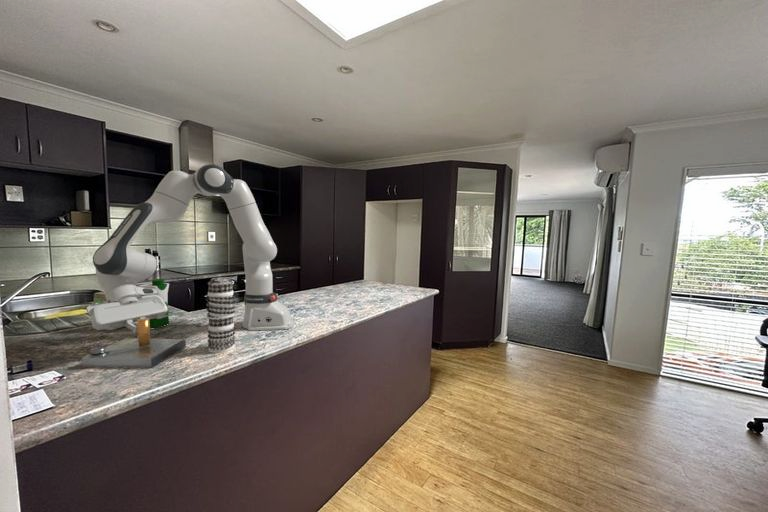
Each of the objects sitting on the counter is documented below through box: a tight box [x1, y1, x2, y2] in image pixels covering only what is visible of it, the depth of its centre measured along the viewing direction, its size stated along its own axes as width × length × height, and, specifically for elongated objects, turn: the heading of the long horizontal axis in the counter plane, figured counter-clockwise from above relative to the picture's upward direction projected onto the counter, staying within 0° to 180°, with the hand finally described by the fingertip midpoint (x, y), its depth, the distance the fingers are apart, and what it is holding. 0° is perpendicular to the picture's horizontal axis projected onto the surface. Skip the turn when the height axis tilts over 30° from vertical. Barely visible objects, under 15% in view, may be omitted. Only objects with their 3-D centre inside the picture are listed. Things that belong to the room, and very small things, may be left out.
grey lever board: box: [81, 338, 187, 369], centre depth 100 cm, size 21×16×3 cm
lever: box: [89, 318, 151, 355], centre depth 97 cm, size 14×4×8 cm, turn 131°
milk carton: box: [137, 278, 170, 330], centre depth 129 cm, size 9×9×20 cm
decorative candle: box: [205, 276, 236, 354], centre depth 108 cm, size 9×9×25 cm
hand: (140, 331), depth 101 cm, fingers closed, pressing on lever
